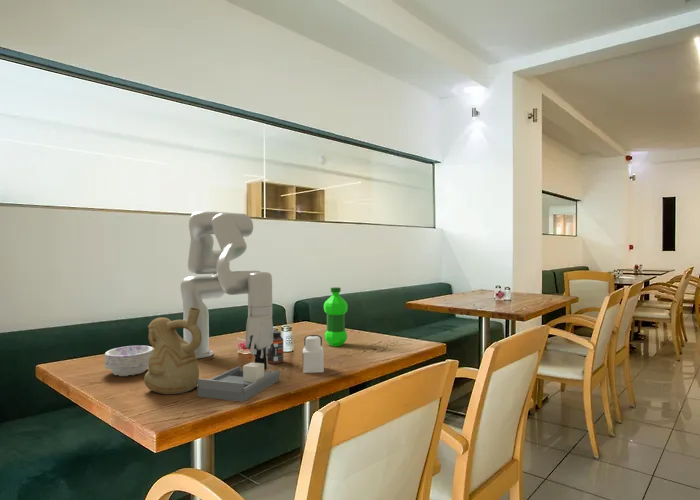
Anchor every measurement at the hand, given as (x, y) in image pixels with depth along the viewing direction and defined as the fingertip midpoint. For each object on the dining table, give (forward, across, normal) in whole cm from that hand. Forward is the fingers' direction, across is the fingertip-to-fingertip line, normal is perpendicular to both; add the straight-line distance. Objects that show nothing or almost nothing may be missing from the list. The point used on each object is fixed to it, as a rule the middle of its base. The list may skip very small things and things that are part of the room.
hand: (260, 369), depth 145 cm
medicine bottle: (+5, -20, +9) cm, 22 cm away
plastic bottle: (+4, -61, +3) cm, 61 cm away
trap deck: (+4, +6, -4) cm, 8 cm away
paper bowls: (+4, +2, -50) cm, 50 cm away
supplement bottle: (+4, -26, -9) cm, 28 cm away
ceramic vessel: (+4, +13, -22) cm, 26 cm away
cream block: (+2, +4, 0) cm, 5 cm away
